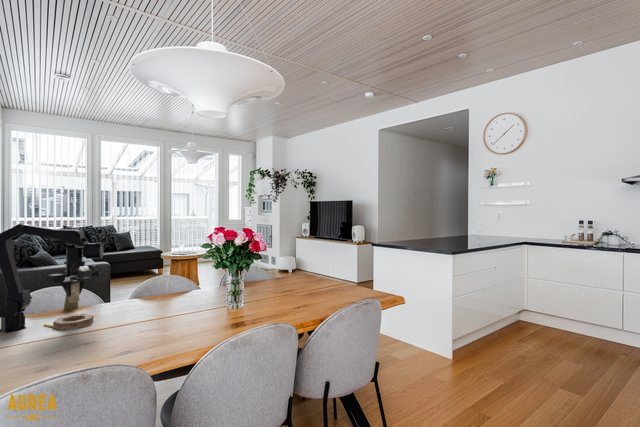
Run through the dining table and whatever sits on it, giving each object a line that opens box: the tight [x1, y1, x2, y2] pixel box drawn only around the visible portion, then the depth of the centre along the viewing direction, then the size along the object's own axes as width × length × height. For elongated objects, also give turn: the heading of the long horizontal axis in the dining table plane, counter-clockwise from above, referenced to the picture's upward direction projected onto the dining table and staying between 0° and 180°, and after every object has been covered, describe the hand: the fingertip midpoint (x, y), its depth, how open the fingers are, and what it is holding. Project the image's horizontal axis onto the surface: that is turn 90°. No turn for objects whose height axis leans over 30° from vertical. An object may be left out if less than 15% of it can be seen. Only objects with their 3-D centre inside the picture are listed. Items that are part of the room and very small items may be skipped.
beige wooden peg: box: [69, 279, 80, 303], centre depth 146 cm, size 4×4×9 cm
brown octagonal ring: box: [52, 313, 94, 331], centre depth 146 cm, size 13×13×2 cm
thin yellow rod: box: [43, 323, 53, 328], centre depth 143 cm, size 1×7×1 cm, turn 67°
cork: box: [63, 293, 79, 310], centre depth 171 cm, size 6×6×11 cm
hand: (74, 295), depth 146 cm, fingers closed on beige wooden peg, 4 cm apart
